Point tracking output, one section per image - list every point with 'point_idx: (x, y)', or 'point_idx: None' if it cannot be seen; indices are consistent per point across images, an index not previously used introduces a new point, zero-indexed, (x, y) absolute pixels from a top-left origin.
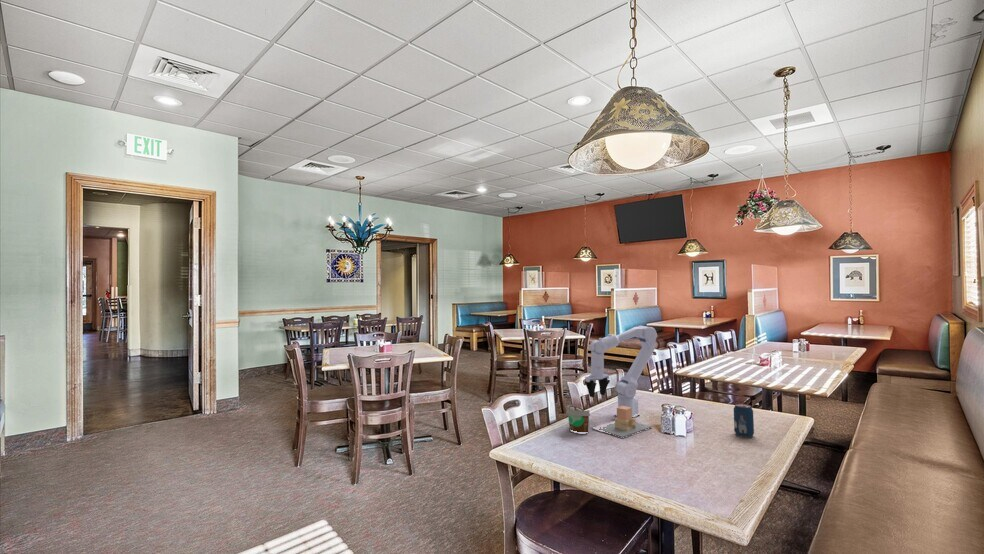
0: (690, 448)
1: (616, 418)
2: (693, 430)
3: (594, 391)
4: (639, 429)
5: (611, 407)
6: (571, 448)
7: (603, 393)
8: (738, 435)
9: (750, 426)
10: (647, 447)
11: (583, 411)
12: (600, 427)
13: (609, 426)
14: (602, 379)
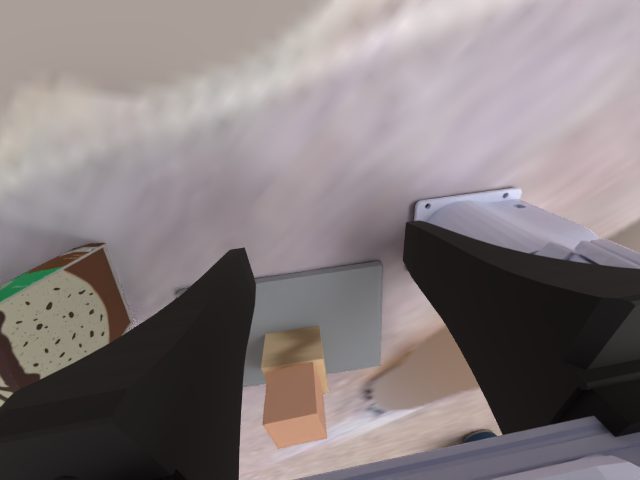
0: (322, 448)
1: (264, 371)
2: (442, 399)
3: (244, 342)
4: None
5: (582, 43)
6: None
7: (409, 267)
8: (466, 438)
9: None
10: (243, 428)
11: None
12: None
13: (254, 318)
14: (576, 407)
